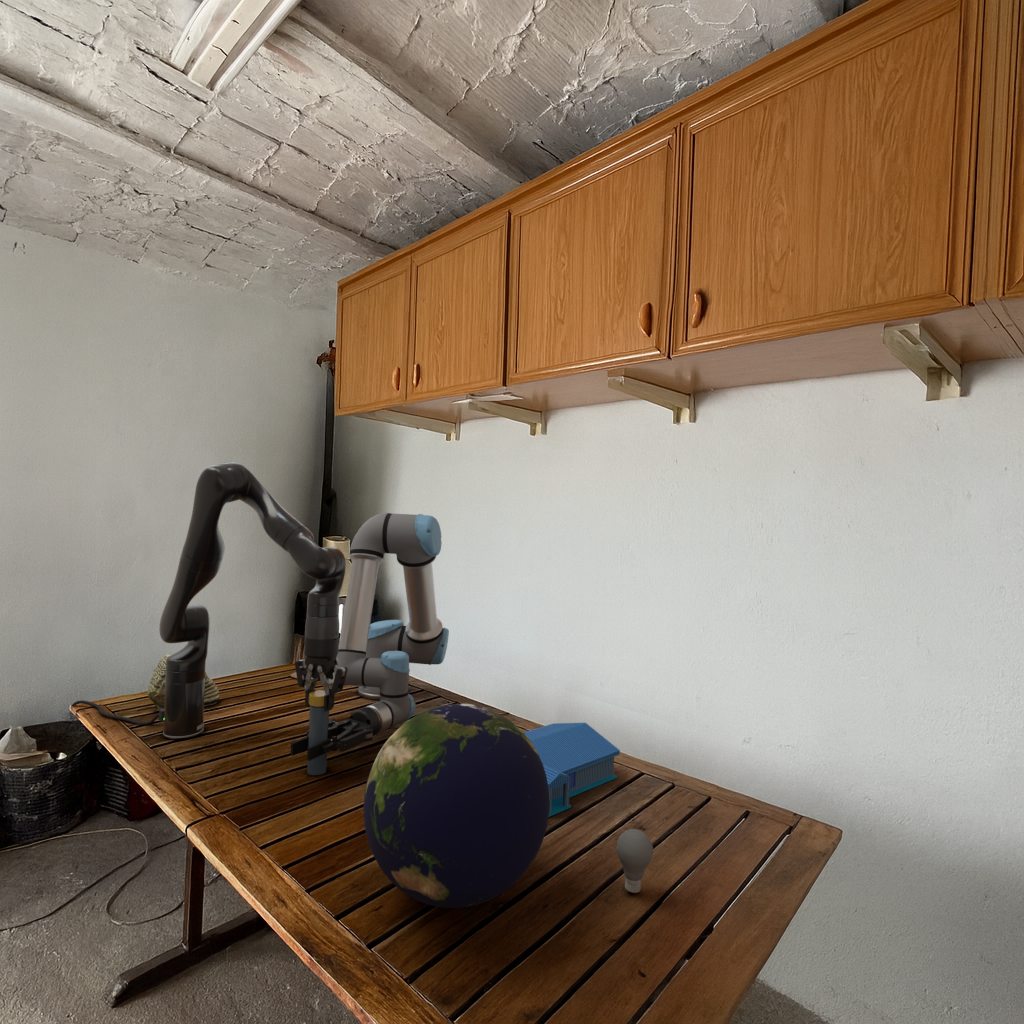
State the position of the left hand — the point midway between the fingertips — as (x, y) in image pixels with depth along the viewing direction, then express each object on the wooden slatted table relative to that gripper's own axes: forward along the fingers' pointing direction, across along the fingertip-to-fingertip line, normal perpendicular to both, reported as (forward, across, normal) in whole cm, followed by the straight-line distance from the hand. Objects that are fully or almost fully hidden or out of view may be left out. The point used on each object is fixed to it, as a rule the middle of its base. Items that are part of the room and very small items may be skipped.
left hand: (319, 707), depth 146 cm
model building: (+15, +46, +18) cm, 52 cm away
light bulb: (+15, +76, -9) cm, 78 cm away
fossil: (+15, -63, +14) cm, 66 cm away
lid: (-3, 0, 0) cm, 3 cm away
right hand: (+8, 0, -5) cm, 10 cm away
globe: (+15, +50, -24) cm, 57 cm away
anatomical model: (+15, -54, +58) cm, 81 cm away
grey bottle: (+15, 0, 0) cm, 15 cm away
